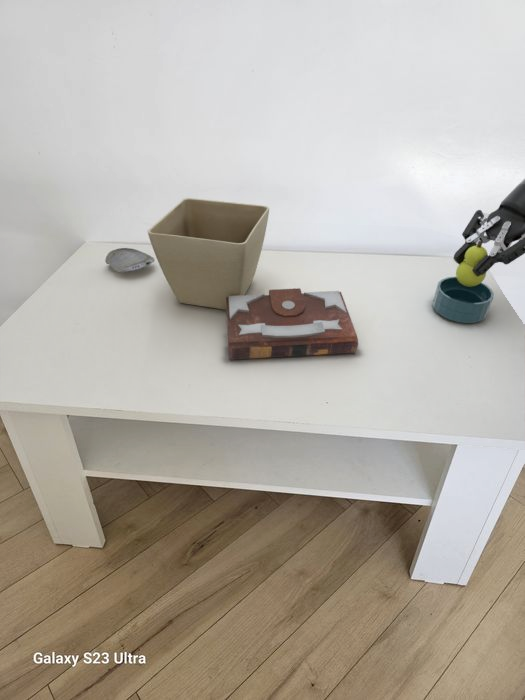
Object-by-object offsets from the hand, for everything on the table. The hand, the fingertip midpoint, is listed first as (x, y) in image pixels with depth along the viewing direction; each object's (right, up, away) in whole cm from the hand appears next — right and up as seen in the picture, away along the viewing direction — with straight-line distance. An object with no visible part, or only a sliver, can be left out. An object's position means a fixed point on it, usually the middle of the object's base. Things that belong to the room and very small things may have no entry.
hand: (465, 267), depth 88 cm
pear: (+2, -3, +3) cm, 5 cm away
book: (-34, -13, +1) cm, 36 cm away
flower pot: (-49, -3, +12) cm, 51 cm away
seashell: (-70, +3, +20) cm, 73 cm away
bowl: (+2, -8, +7) cm, 11 cm away
